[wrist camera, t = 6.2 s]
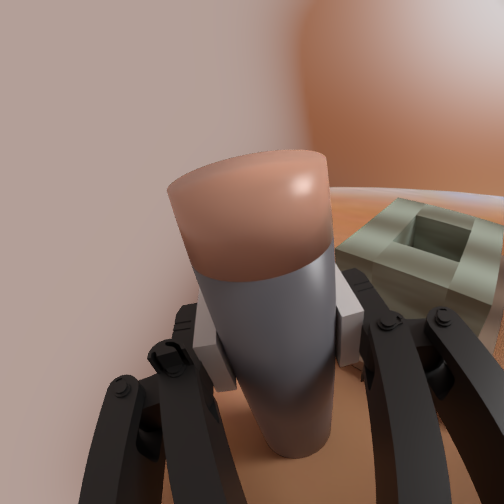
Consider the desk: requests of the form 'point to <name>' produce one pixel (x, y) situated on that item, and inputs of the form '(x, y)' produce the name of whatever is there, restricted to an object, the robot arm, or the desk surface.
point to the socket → (432, 264)
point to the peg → (269, 284)
